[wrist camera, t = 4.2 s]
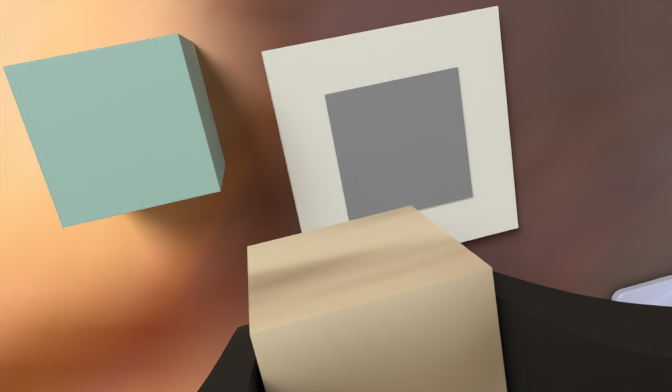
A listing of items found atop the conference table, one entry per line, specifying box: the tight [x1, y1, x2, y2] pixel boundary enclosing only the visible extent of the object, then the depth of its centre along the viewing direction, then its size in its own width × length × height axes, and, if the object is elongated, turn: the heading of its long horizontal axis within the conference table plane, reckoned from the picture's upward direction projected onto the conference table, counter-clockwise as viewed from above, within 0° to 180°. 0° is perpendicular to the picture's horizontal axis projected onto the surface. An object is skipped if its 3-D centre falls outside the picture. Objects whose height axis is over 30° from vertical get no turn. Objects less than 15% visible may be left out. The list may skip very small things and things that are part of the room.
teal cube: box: [3, 34, 226, 228], centre depth 16 cm, size 4×4×4 cm
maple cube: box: [247, 205, 507, 392], centre depth 11 cm, size 4×4×4 cm
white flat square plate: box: [261, 6, 518, 243], centre depth 19 cm, size 9×9×1 cm
